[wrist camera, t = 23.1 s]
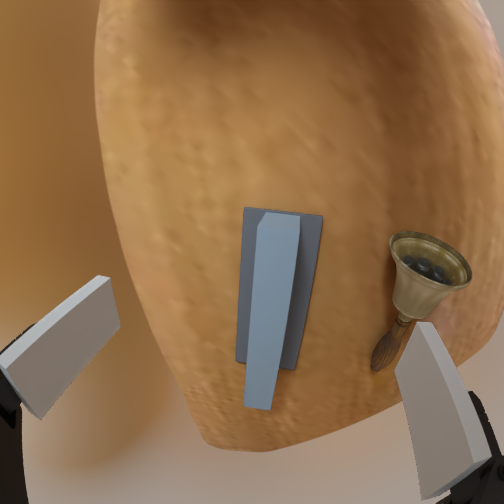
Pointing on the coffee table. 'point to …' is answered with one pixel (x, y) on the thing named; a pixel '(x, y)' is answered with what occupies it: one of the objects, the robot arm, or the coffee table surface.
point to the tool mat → (300, 287)
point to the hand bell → (419, 285)
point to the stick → (270, 304)
